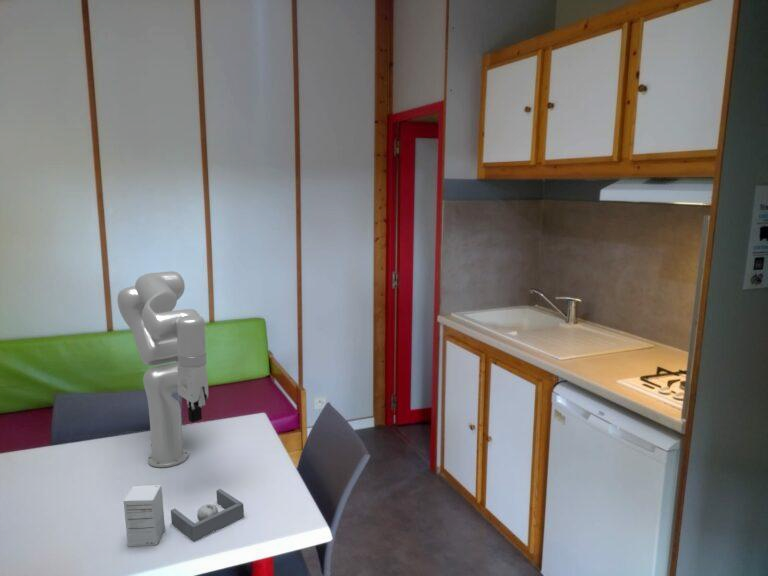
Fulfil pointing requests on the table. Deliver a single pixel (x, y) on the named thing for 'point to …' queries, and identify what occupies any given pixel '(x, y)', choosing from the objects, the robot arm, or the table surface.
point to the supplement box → (144, 515)
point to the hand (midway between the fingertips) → (195, 420)
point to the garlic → (206, 511)
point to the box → (212, 523)
